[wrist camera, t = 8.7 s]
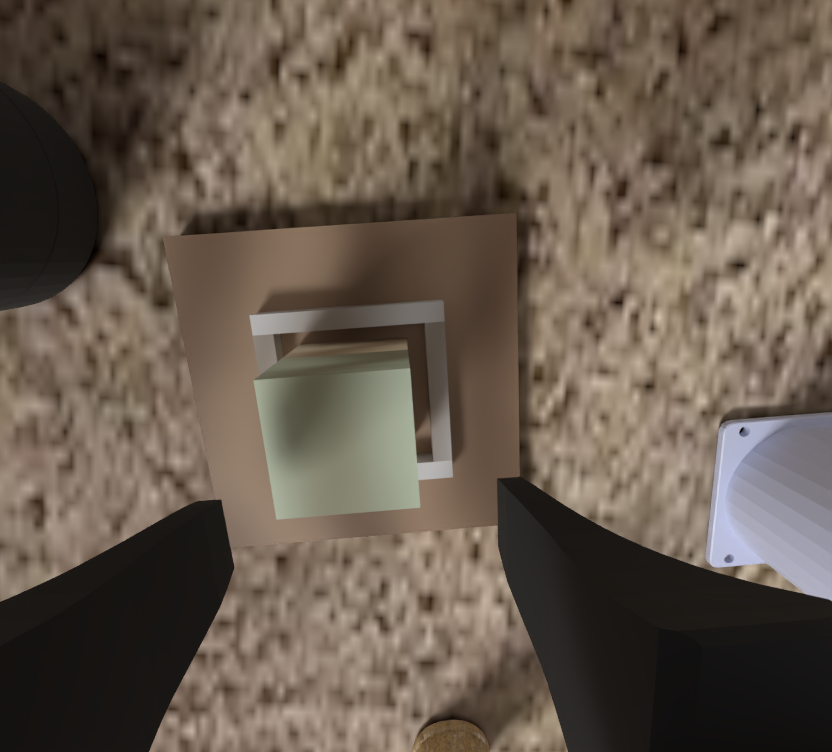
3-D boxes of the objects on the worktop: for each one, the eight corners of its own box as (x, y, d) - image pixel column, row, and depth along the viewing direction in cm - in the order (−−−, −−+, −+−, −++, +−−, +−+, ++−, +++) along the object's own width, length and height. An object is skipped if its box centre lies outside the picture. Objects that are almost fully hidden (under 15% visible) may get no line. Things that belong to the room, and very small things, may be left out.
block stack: (406, 336, 18) (410, 368, 13) (413, 436, 19) (420, 507, 14) (299, 344, 18) (253, 380, 12) (312, 444, 19) (276, 519, 14)
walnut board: (509, 216, 19) (523, 209, 16) (513, 509, 22) (526, 535, 20) (177, 239, 18) (148, 234, 16) (234, 533, 22) (216, 562, 19)
